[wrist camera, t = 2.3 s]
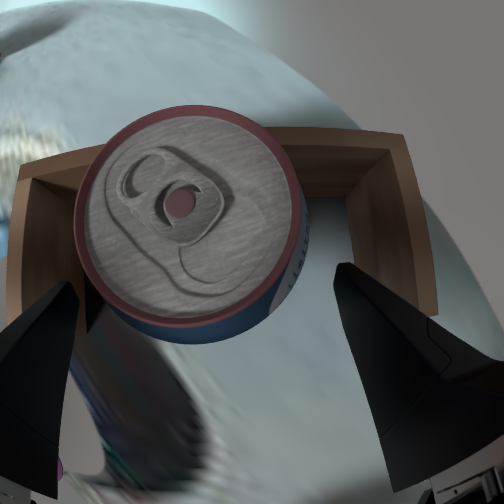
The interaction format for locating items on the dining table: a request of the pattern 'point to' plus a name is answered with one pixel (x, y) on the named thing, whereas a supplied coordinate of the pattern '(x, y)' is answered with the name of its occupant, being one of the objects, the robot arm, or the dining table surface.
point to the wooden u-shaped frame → (313, 185)
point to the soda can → (192, 224)
